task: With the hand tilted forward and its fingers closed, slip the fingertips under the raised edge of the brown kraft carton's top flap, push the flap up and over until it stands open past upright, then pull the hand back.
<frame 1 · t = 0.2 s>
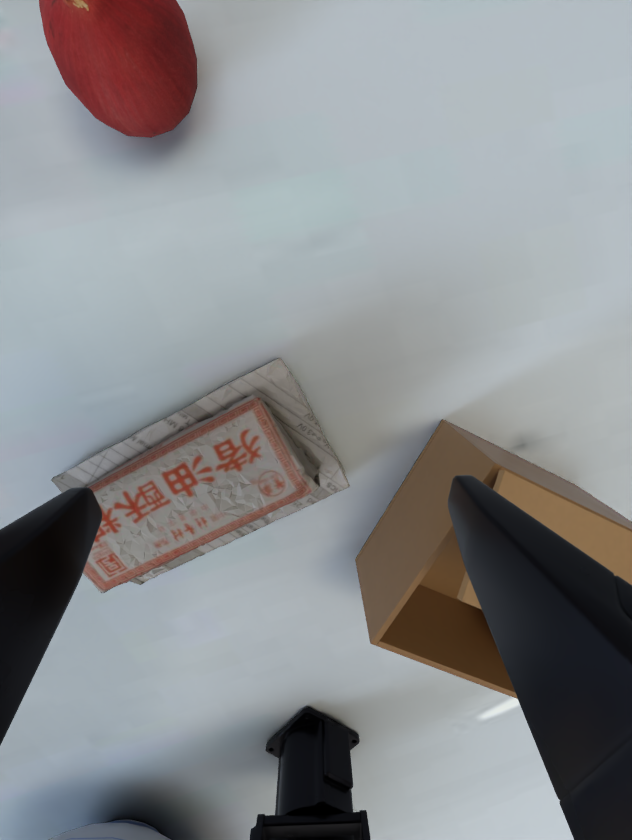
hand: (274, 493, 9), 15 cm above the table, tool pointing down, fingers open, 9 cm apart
packaged product: (207, 472, 26), on the table
flap: (581, 577, 17), point 9 cm above the table, hinge at 25.0°
onion: (162, 101, 19), on the table
ramen bowl: (130, 836, 38), on the table
carton: (462, 523, 27), on the table
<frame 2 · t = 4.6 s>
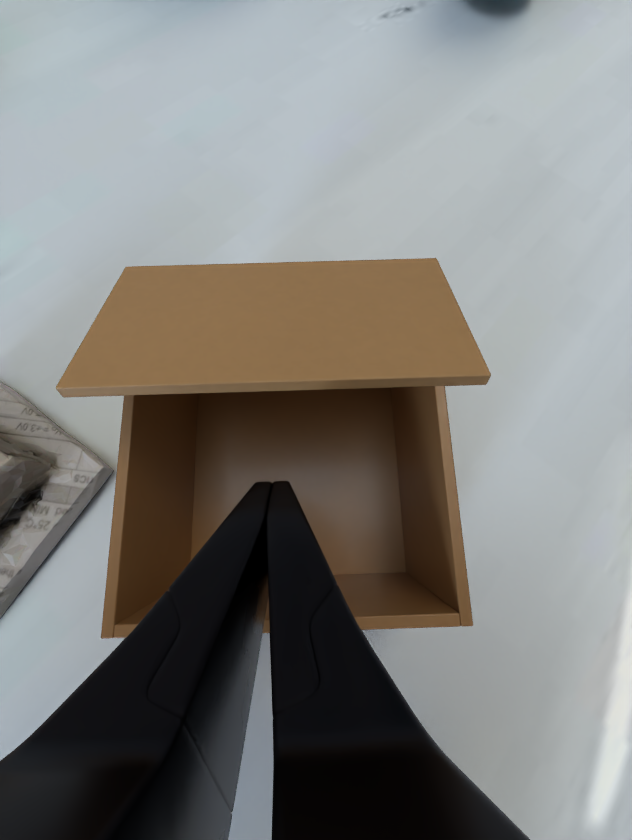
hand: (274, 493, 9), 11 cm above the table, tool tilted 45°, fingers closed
flap: (279, 316, 12), point 9 cm above the table, hinge at 25.0°
carton: (296, 459, 20), on the table
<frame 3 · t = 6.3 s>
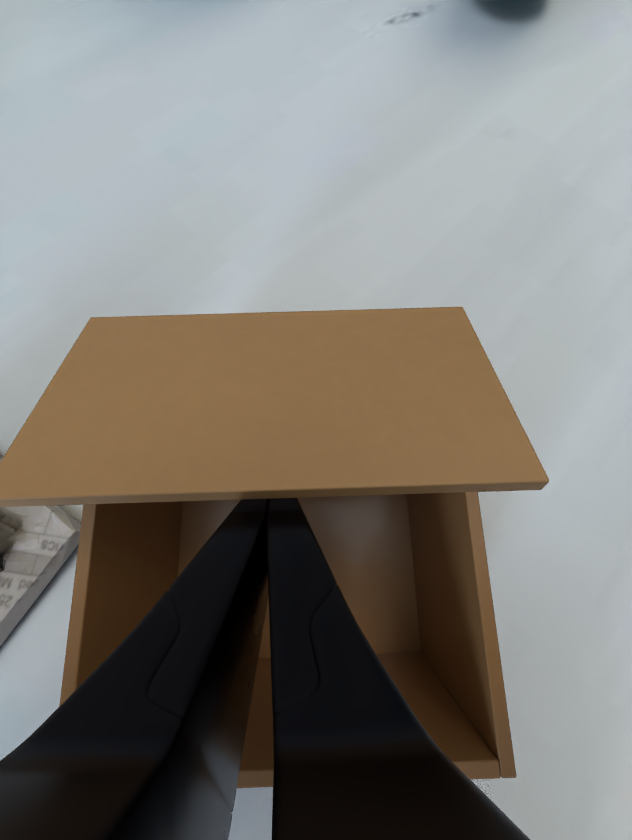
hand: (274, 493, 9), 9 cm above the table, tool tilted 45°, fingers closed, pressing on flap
flap: (273, 387, 9), point 9 cm above the table, hinge at 25.5°, touching gripper
carton: (295, 516, 18), on the table
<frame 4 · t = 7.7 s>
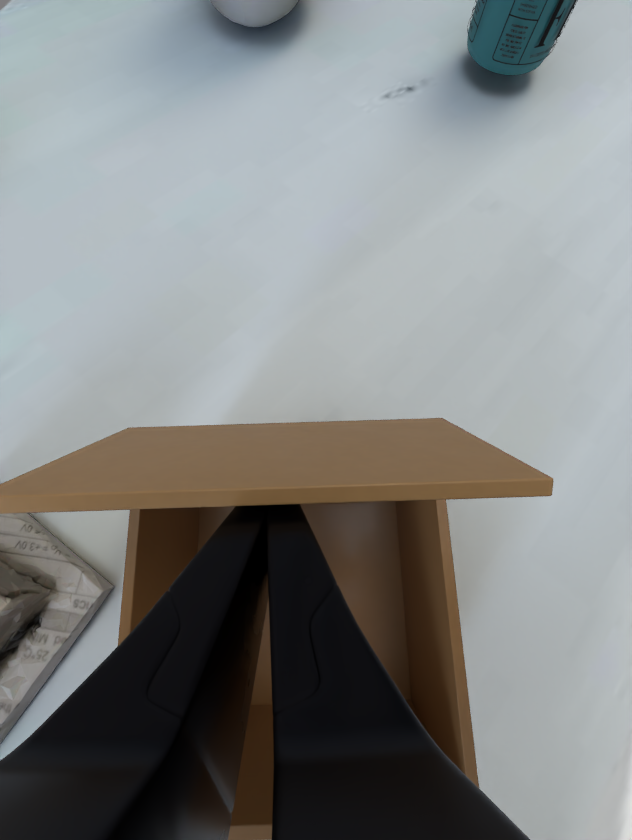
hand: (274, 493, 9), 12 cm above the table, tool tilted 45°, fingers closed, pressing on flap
beverage bottle: (494, 71, 29), on the table
flap: (278, 452, 10), point 11 cm above the table, hinge at 64.8°, touching gripper
carton: (299, 572, 20), on the table
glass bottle: (259, 15, 30), on the table
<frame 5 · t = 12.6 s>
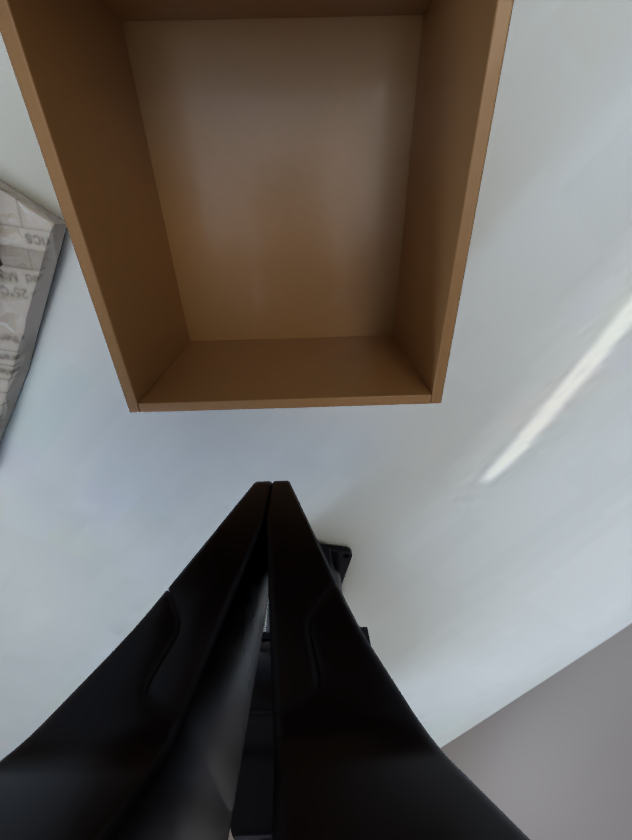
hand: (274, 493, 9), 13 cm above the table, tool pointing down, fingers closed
carton: (284, 209, 17), on the table
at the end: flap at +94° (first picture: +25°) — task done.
